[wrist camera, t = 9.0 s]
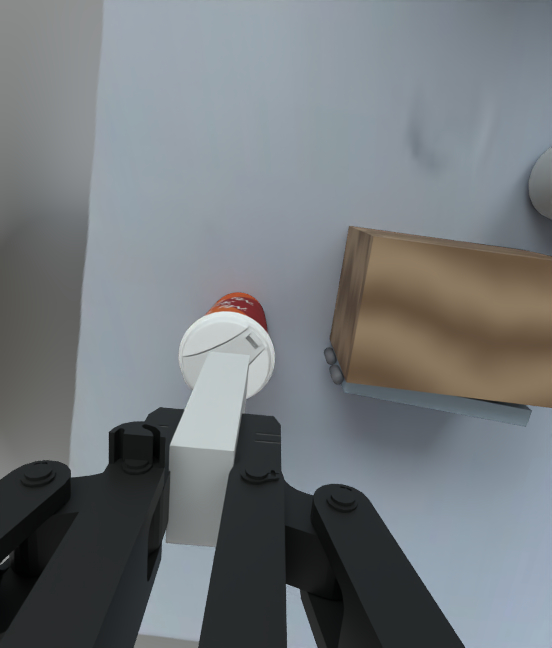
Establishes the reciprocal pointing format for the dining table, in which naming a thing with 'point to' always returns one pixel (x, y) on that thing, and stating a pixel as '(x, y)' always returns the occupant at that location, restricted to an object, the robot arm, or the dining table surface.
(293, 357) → the dining table surface
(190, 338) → the paper cup
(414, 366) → the cabinet
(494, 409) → the door
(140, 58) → the dining table surface
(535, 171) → the can
